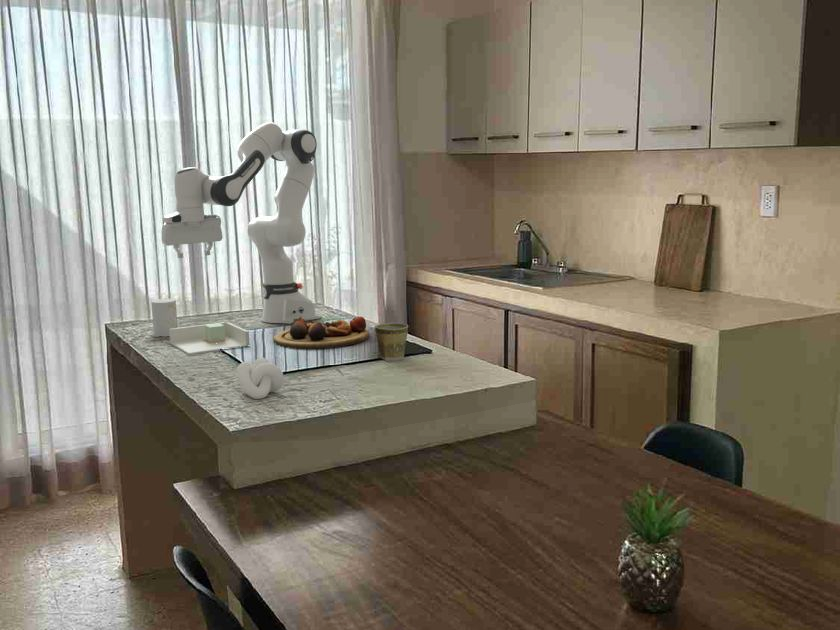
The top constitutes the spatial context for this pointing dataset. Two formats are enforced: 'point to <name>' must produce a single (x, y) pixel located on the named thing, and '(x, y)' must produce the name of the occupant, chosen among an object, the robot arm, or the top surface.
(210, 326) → the cube
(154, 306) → the cup
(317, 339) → the wooden plate with food
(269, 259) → the robot arm
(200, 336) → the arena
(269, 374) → the white knot sculpture
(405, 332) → the ceramic cup
